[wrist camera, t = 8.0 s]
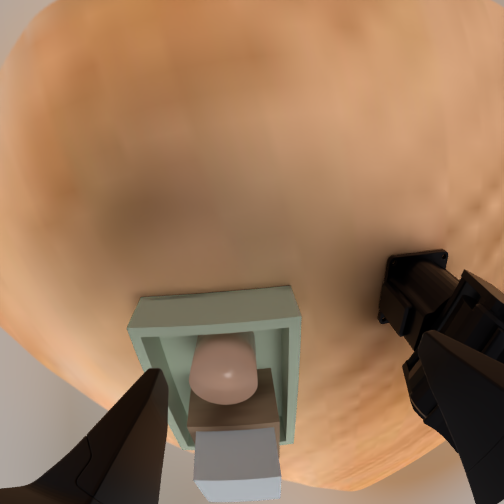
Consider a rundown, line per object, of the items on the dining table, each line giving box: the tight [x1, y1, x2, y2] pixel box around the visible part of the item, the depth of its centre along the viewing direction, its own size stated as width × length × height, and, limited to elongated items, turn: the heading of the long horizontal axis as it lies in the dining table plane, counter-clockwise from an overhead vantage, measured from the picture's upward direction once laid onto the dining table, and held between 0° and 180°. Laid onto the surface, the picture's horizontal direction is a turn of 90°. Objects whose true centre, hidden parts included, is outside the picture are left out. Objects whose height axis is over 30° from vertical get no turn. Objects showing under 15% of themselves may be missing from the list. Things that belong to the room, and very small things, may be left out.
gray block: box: [193, 427, 281, 502], centre depth 18 cm, size 6×6×4 cm
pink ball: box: [189, 331, 258, 405], centre depth 20 cm, size 5×5×5 cm
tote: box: [127, 286, 301, 450], centre depth 23 cm, size 12×17×4 cm
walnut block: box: [187, 368, 280, 457], centre depth 23 cm, size 7×7×6 cm
